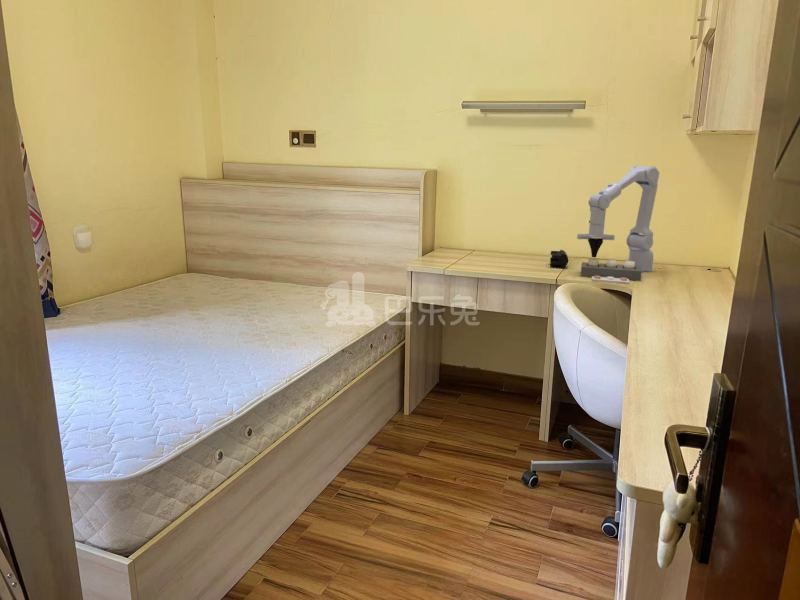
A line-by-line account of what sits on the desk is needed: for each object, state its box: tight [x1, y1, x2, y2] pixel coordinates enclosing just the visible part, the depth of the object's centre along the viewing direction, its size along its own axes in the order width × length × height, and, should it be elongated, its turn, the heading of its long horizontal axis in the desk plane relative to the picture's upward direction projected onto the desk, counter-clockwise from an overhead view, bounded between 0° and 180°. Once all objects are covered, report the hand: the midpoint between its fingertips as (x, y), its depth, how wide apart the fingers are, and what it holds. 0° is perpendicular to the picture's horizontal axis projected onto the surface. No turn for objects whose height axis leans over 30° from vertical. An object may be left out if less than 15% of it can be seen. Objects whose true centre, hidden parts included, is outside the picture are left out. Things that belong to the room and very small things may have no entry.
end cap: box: [549, 249, 569, 269], centre depth 268 cm, size 10×7×7 cm
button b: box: [605, 259, 617, 268], centre depth 249 cm, size 4×4×4 cm
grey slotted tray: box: [580, 261, 643, 282], centre depth 250 cm, size 23×11×4 cm, turn 72°
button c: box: [587, 257, 600, 267], centre depth 251 cm, size 4×4×4 cm
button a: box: [623, 260, 635, 269], centre depth 247 cm, size 4×4×4 cm
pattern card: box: [591, 275, 630, 285], centre depth 241 cm, size 14×6×2 cm, turn 72°
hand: (593, 256), depth 250 cm, fingers closed
